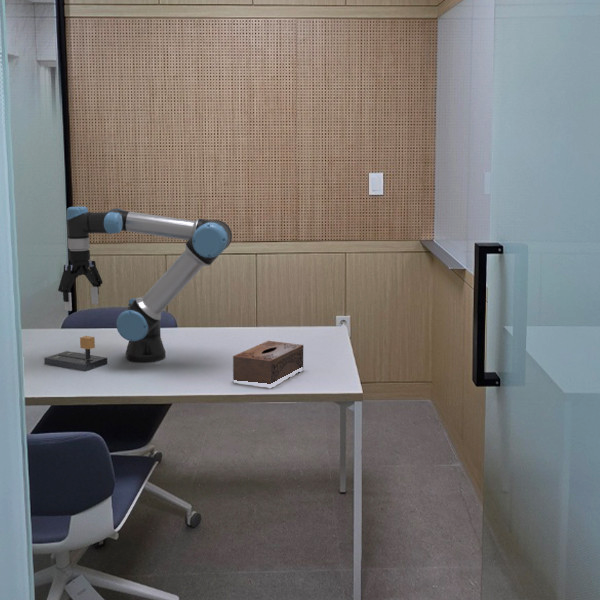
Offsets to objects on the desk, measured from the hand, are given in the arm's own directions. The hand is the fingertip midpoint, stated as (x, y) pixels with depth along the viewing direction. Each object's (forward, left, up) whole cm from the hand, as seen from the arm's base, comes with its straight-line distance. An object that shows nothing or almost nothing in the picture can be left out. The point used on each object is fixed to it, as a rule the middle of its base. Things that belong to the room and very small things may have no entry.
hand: (81, 307), depth 329 cm
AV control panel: (+3, +1, -22) cm, 22 cm away
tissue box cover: (-68, -20, -22) cm, 74 cm away
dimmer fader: (-3, +1, -19) cm, 19 cm away
